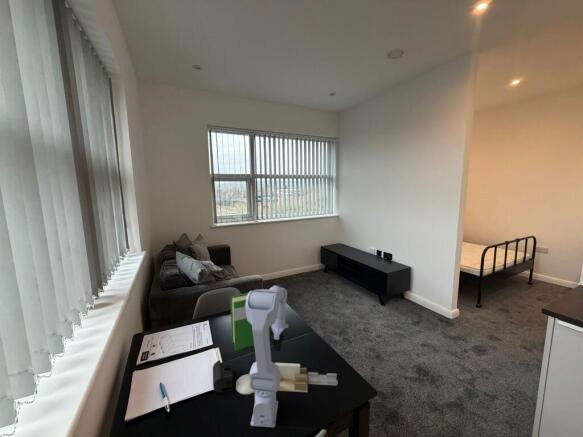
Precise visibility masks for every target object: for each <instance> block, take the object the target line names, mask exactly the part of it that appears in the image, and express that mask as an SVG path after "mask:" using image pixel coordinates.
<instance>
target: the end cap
mask: <svg viewBox="0 0 583 437" xmlns="http://www.w3.org/2000/svg"><path fill="white" fill-rule="evenodd" d="M231 366H232V361H231V360H226V361H222V362H221V360H220V359H219V360H217V361H215V363H214V364H213V366H212V387H213V388H212V389H213V390H214V391H215V392H217V393H220V394H221V393H227V392H230V391H232V390H233V389H234V387H233V386H234V384H233V382H234V381H233V380H234V379H233V377H234V376H233V370H232V369H231V368H232V367H231Z"/></svg>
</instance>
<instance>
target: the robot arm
mask: <svg viewBox="0 0 583 437" xmlns="http://www.w3.org/2000/svg"><path fill="white" fill-rule="evenodd" d="M247 293H248V295H247V298H246V305H245V308H246V316H247V321H248V322H250V323H251V324H252V329H253V337H254V345H253V346H254V351H255V354H254V355H255V361H254V362H253V363H252V365H251V367H250V371H249V373H248V374H249V376H250V378H249V386H250V388H251V389H253V393H254V406H253V411H252V416H251V421H250V426H251V427H260V428H261V427H263V428H264V427H265V428H275V427H276V421H277V412H278V405H279V401H278V400H277V392H279V391H278V390H279V386H280V379H281V373H280V371H279V366H278V365H276V364H275V363H276V362H273V361H272V353H271V352H272V351H271V344H270V341H271V342H272V345H273V348H274V352H281V348H282V344H283V341H284V339H285V335H284V331H285V329H288V328H289V324H288V323H287V322H286V305H287V299H288V290H287V289H286V288H285V287H280V286H279V285H273V286H272V287H270V288H269V289H266V288H265V289H264V288H261V289H253V290H249V292H247ZM269 326H270V328H271V330H272V332H273V333H272V334H271V333H270V340H269Z"/></svg>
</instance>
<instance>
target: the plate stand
mask: <svg viewBox="0 0 583 437" xmlns="http://www.w3.org/2000/svg"><path fill="white" fill-rule="evenodd" d="M337 375H338V374H337V373H333V372H331V373H327V372H326V374H319V372H314V371H313V372H311V371H308V372H307V377H308V378H307V384H308V385H322V386H338V383H339V382H338V380H337V377H338V376H337Z"/></svg>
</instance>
